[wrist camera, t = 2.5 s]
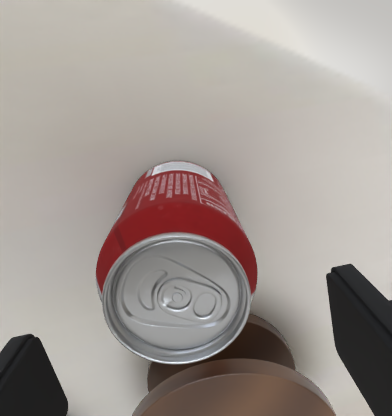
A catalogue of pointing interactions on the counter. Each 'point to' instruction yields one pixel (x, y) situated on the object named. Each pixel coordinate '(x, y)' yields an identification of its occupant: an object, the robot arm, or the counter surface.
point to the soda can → (176, 267)
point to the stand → (236, 381)
